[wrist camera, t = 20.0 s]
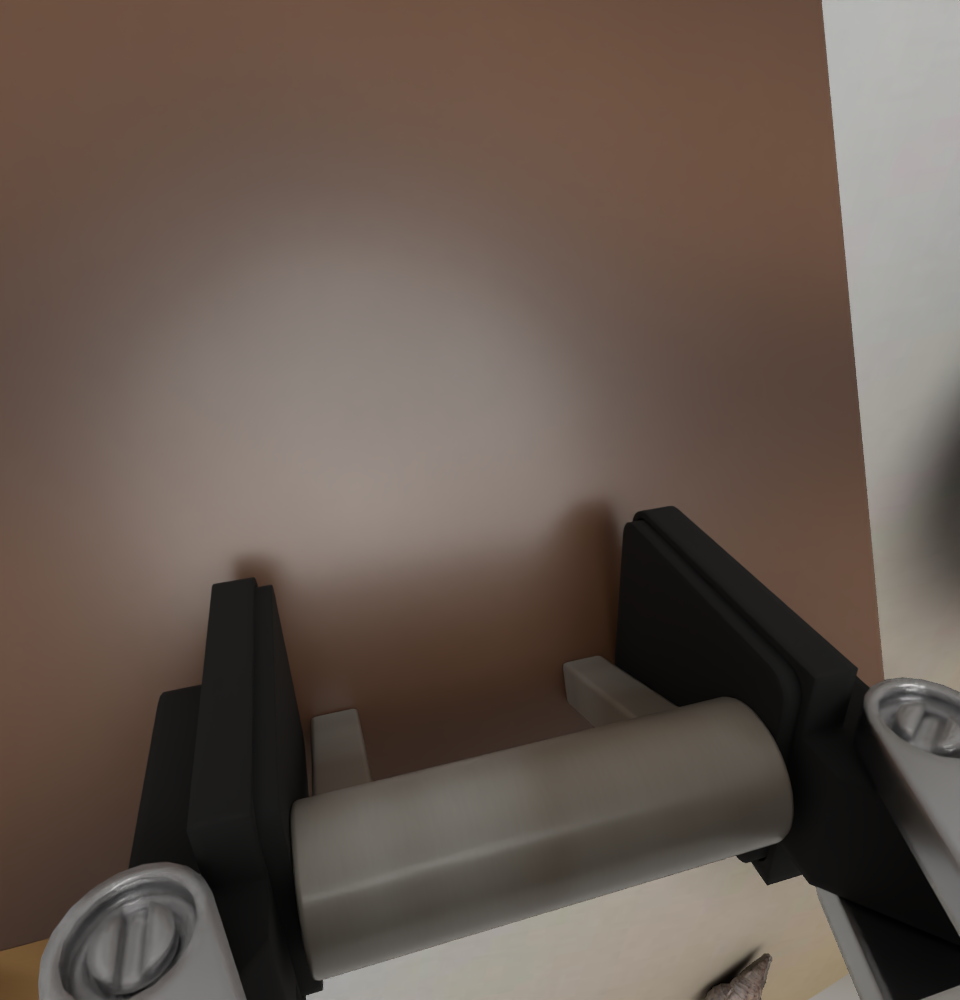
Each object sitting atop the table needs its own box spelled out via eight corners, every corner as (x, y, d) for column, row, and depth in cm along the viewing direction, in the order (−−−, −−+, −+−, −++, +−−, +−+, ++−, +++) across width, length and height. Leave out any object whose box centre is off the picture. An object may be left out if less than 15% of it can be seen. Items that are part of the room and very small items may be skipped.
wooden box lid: (856, 702, 14) (1186, 847, 9) (-44, 934, 10) (-396, 1408, 5) (782, -75, 13) (1114, -452, 8) (-266, -109, 9) (-1018, -860, 4)
